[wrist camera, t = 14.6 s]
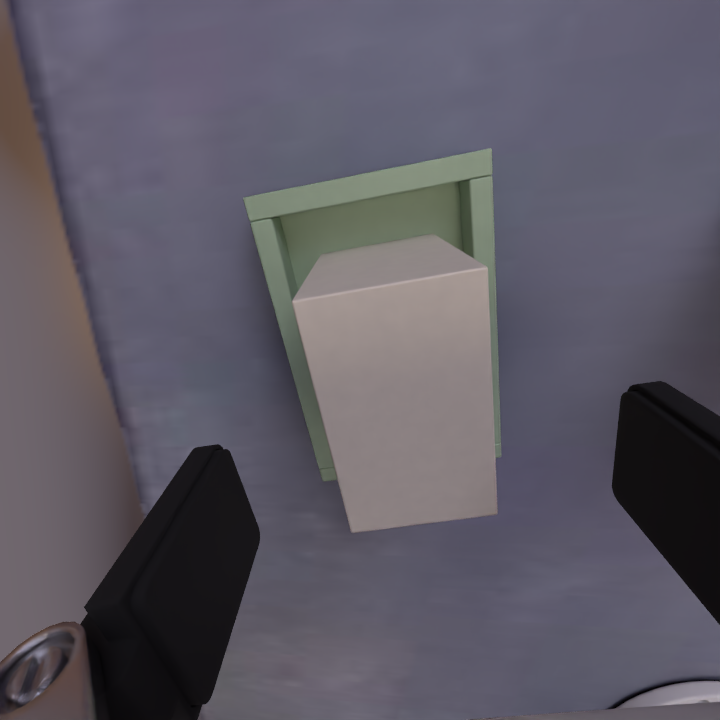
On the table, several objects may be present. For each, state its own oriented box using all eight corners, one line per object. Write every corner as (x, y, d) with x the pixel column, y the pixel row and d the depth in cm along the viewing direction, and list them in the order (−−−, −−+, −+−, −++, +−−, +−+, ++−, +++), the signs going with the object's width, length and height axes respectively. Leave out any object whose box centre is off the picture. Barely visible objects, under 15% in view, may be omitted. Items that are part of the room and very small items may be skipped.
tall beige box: (433, 233, 15) (488, 266, 8) (449, 398, 18) (498, 515, 11) (315, 254, 15) (281, 302, 9) (350, 413, 18) (344, 535, 12)
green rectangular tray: (488, 432, 19) (502, 457, 17) (326, 455, 20) (322, 482, 18) (475, 153, 14) (492, 147, 12) (257, 196, 15) (242, 197, 13)
